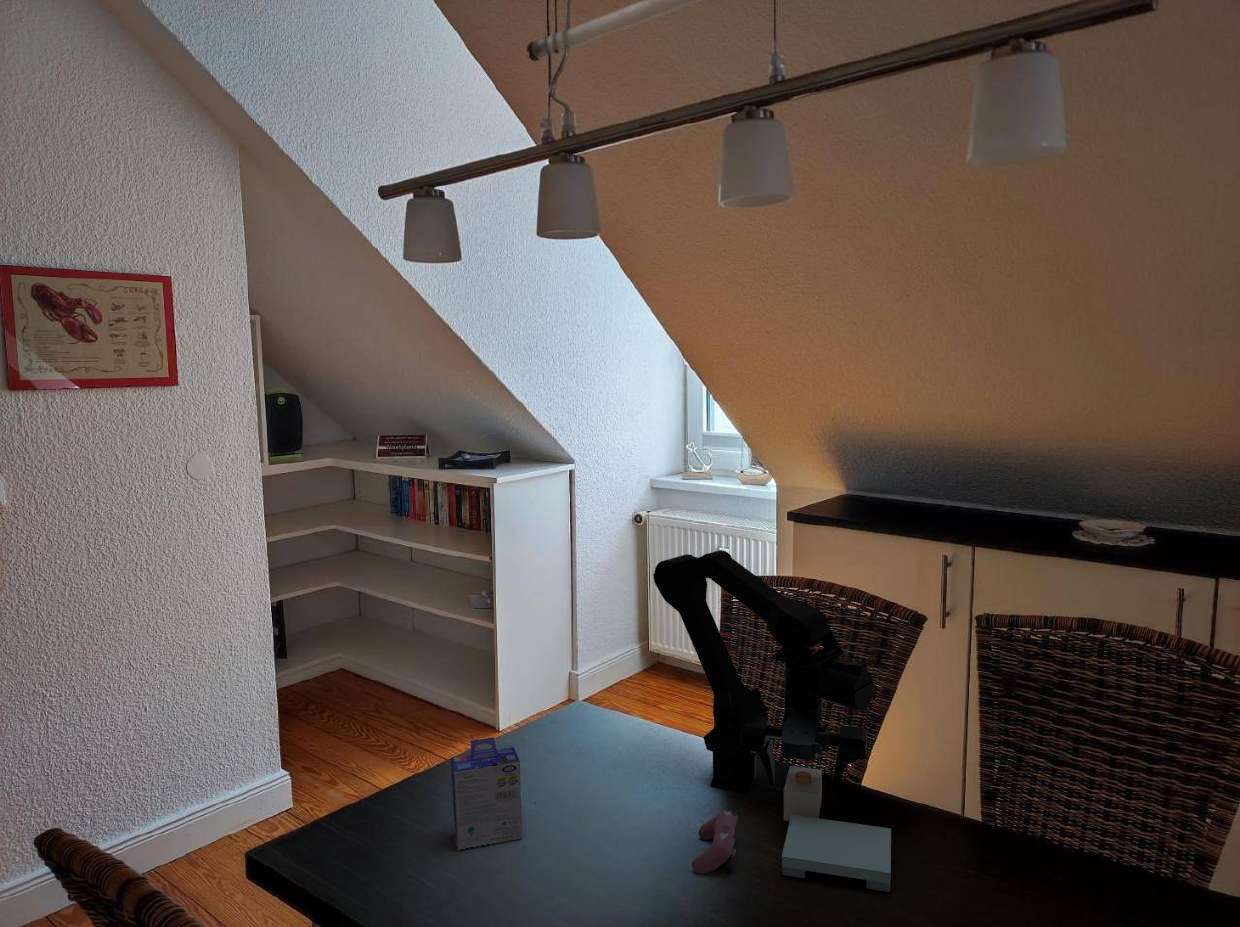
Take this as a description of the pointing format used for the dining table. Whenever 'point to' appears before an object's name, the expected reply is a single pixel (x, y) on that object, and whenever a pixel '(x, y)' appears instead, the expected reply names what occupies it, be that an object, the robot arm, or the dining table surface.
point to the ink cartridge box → (486, 795)
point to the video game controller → (716, 842)
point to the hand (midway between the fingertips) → (802, 788)
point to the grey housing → (802, 792)
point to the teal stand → (838, 850)
